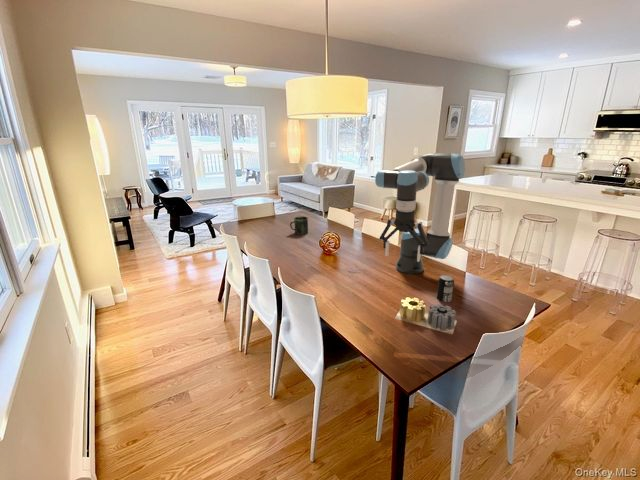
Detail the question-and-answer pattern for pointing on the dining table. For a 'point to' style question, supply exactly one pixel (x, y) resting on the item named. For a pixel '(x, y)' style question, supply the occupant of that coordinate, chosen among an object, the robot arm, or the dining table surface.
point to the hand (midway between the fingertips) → (402, 257)
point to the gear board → (425, 323)
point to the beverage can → (445, 288)
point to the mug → (300, 225)
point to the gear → (441, 317)
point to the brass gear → (412, 309)
